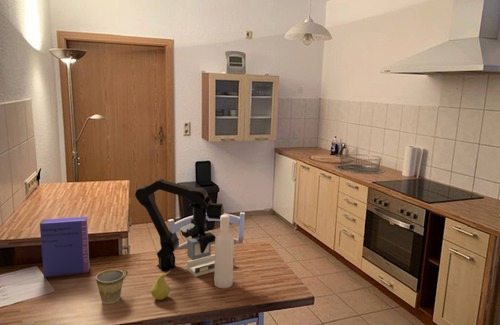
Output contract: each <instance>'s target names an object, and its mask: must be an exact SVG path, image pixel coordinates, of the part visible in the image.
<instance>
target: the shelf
mask: <svg viewBox="0 0 500 325" xmlns="http://www.w3.org/2000/svg"><path fill="white" fill-rule="evenodd" d="M234 266H235V257H233V267H234ZM185 269H187V271H189V272H190V273H191V274H192V275H193V276H194V277H199V276H203V275H207V274H210V273H213V272H215V253H214V254H213V253H212V254H211V256H207V257H203V258H200V259H196V260H192V259H190V260H187V261H186V264H185Z"/></svg>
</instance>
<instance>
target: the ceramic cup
mask: <svg viewBox="0 0 500 325" xmlns="http://www.w3.org/2000/svg"><path fill="white" fill-rule="evenodd" d="M128 273H129V272H128V270H127V269H122V270H121V269H116V268H115V269H114V268H113V269H107V270H103V271H100V272H99V273H97V274H96V276H95V280H96V281H95V282H96V286H97V288H98V289H97V290H98V292H99V296H100V300H101V302H102V304H104V305H111V304H112V305H113V304H115V303H117V302H119V301H120V299H121V294H122V287H123V283H124V280H125V279H126V277H127V275H128Z"/></svg>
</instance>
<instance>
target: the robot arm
mask: <svg viewBox="0 0 500 325" xmlns="http://www.w3.org/2000/svg"><path fill="white" fill-rule="evenodd" d="M160 190H161V191H164V192H167V193H170V194H174V195H176V196H181V197H184V198H186V199H187V200H188V202H191V203H190V204H189V205H188V208H191V209H192V218H191V219H190V222H188V223H185V224H184V225H183V226H182V227H180V228H179V230H180V233H181V235H182V236H183V237H184V238H186V239H187V238H188V239H189V238H194V237H199V240H197V241H198V242H199V243H200V250H201V253H204V251H205V249H206V247H207V245H208V244H209V243H210V242H211V243H213V242H214V243H215V238H216V236H217V235H215V234H213V233H211V232H209V228H207V223H209V220H208V219H211V220H220V218H221V215H225V214H224V213H225V210H224V205H223V203H220V202H219V203H214V202H213V201H212V199H211V198H210V196H209V194H208V191H207V189H205V188H203V187H196V186H194V187H191V186H185V185H182V184H179V183H175V182H171V181H169V180H165V179H163V178H159V179H157V180H156V181H154V182H152V183H151V184H150V185H148V184H145V185H143V186H142V187H140V188H138V189H136V191H135V193H134V196H135V199H136V200H137V201H138V203H139V204H140V205H141V206H142V207H144V208H145V210H146V212H147V213H148V216H149V218H150V219H151V222H152V224H153V225H154V228H155V230H156V231H157V234H158V236H159V242H160V243H159V244H160V249H159V250H158V251H157V252H156V255H157V259H158V264H157V267H158V268H159V270H161V271H162V272H165V271H170V270H172V269H176V268H177V267H176V255H175V253H174V252H175V251H176V250H177V248H178V247H179V245H180V241H179V240H180V238H178V236H177V233H176V232H171V231H170V229H169V228H168V225H167V223H166V221H165V219H164V217H163V216H162V213H161V211H160V210H159V207H158V204H157V203H156V194H155V193H156V192H157V191H160ZM207 218H208V219H207Z"/></svg>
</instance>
